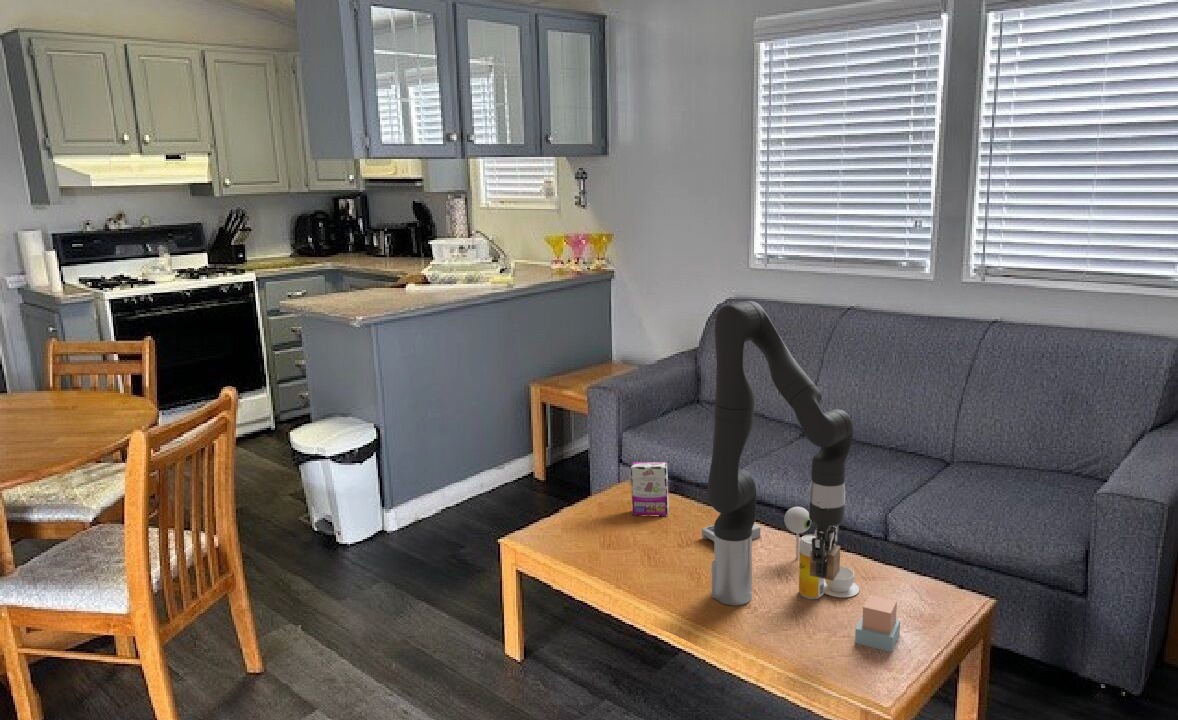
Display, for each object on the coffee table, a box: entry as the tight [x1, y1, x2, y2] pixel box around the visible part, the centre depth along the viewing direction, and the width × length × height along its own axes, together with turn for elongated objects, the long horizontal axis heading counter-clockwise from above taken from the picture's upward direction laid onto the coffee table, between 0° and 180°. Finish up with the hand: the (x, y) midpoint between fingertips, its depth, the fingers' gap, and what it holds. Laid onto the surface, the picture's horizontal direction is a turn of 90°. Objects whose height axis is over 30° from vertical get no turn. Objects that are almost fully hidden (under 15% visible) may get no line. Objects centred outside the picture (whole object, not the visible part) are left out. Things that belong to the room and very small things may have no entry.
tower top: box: [862, 594, 898, 634], centre depth 186 cm, size 6×6×5 cm
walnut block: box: [810, 544, 841, 581], centre depth 185 cm, size 5×5×6 cm
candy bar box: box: [630, 461, 670, 517], centre depth 259 cm, size 11×5×16 cm, turn 81°
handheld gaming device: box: [701, 523, 761, 542], centre depth 241 cm, size 9×15×4 cm, turn 118°
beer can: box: [798, 534, 825, 600], centre depth 206 cm, size 6×6×15 cm
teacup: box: [824, 565, 860, 598], centre depth 210 cm, size 10×10×5 cm
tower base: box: [854, 614, 901, 653], centre depth 187 cm, size 8×8×4 cm
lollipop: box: [783, 506, 812, 560], centre depth 225 cm, size 7×7×15 cm
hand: (824, 570), depth 185 cm, fingers closed on walnut block, 5 cm apart
